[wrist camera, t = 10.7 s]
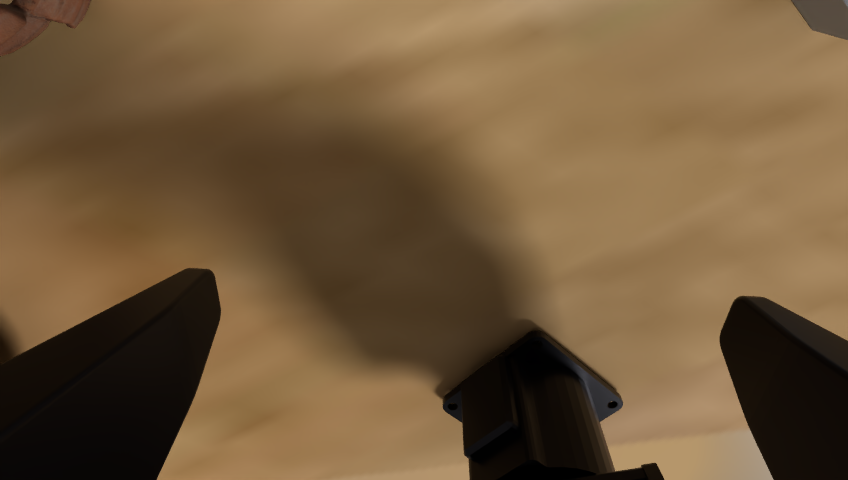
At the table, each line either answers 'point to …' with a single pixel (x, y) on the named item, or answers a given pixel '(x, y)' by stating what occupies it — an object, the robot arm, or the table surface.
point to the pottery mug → (35, 19)
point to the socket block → (825, 16)
